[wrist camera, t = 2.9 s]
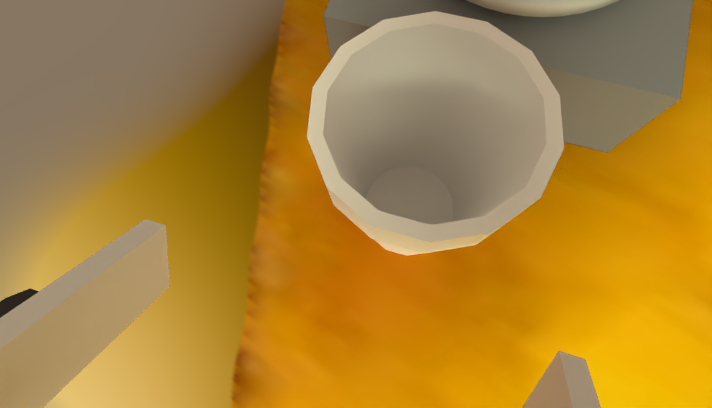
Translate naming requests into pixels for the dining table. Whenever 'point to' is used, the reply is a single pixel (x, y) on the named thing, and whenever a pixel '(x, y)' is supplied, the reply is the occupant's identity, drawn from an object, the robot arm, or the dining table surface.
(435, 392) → the dining table surface
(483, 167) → the foam cup
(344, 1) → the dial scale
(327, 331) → the dining table surface
